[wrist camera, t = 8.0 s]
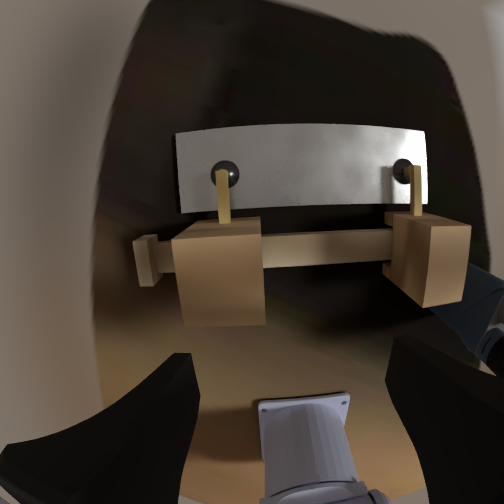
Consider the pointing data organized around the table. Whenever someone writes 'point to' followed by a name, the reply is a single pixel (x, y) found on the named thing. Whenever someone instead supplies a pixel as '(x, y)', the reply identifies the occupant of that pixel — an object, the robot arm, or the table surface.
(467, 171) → the table surface
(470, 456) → the robot arm
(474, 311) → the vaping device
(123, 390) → the table surface
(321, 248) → the rail
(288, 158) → the bolt plate
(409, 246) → the fixed leg
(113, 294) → the table surface
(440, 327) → the table surface
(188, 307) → the brown block with peg
